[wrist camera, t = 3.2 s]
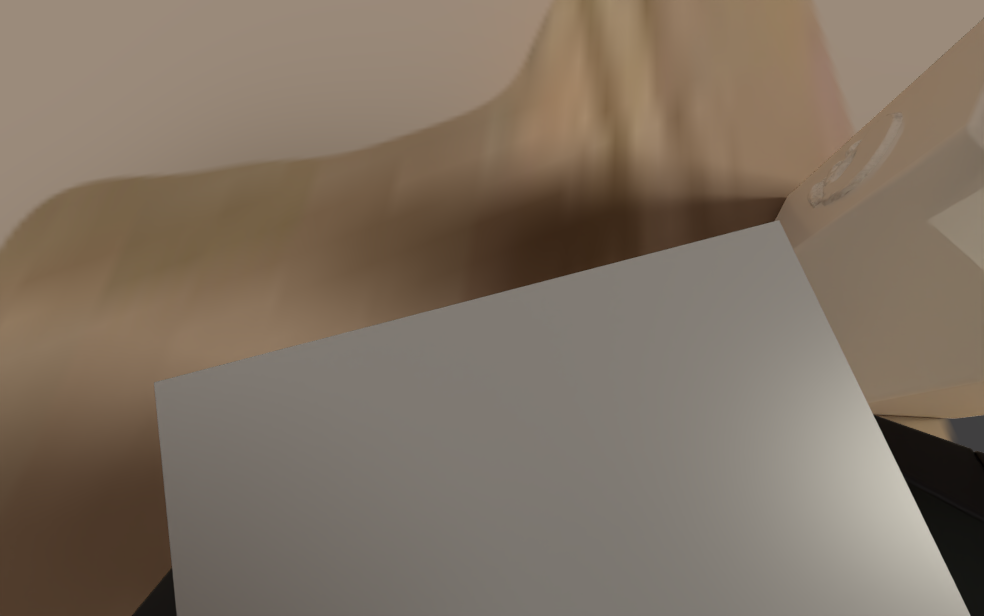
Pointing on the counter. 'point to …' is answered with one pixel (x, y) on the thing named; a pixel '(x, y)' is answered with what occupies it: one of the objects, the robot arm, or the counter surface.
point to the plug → (554, 458)
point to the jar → (906, 242)
